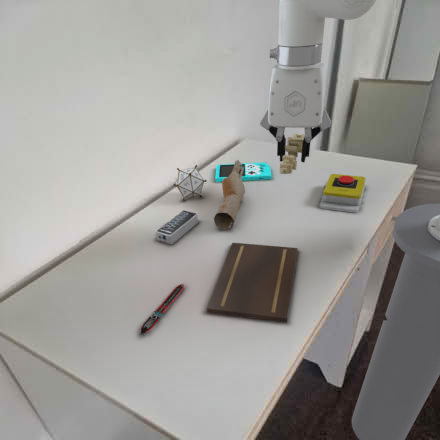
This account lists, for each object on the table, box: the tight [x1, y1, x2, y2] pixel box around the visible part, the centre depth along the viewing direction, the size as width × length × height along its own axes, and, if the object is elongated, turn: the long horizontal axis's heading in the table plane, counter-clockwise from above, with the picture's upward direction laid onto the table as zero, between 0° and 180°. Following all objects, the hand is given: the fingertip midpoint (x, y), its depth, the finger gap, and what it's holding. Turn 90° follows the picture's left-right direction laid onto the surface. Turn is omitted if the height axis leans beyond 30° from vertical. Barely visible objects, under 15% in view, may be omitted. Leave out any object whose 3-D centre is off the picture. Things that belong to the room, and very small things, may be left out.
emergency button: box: [319, 173, 366, 214], centre depth 93 cm, size 9×4×15 cm
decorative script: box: [279, 133, 305, 175], centre depth 76 cm, size 17×4×3 cm, turn 165°
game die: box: [172, 164, 208, 202], centre depth 97 cm, size 9×8×10 cm
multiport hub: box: [155, 209, 199, 245], centre depth 86 cm, size 4×11×2 cm, turn 148°
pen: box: [140, 283, 185, 335], centre depth 67 cm, size 2×14×1 cm, turn 154°
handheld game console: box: [214, 161, 272, 183], centre depth 108 cm, size 10×16×1 cm, turn 89°
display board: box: [206, 242, 299, 323], centre depth 71 cm, size 14×21×1 cm, turn 166°
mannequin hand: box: [213, 159, 246, 231], centre depth 93 cm, size 7×7×25 cm
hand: (292, 158), depth 77 cm, fingers closed on decorative script, 3 cm apart
